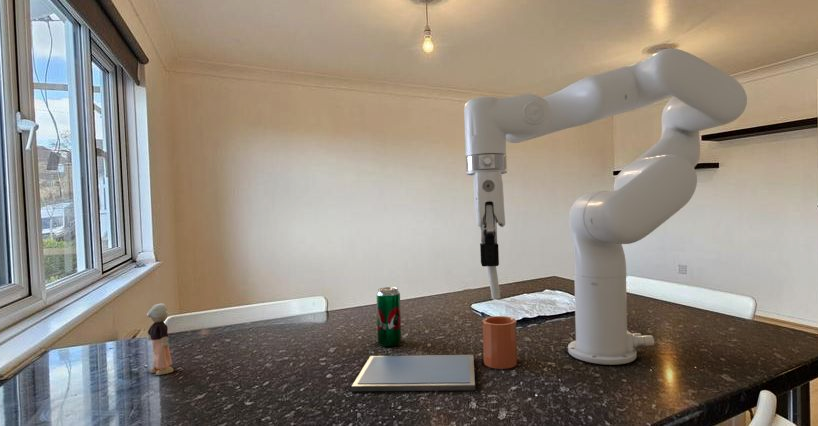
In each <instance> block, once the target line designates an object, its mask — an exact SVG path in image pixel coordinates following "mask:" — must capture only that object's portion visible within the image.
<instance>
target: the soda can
mask: <svg viewBox="0 0 818 426" xmlns="http://www.w3.org/2000/svg"><path fill="white" fill-rule="evenodd" d="M401 321H402V315H401V292H400V290H399V288H398V287H395V286H387V287H380V288H378V291H377V293H376V327H377V343H378V345H379V346H380V347H383V348H384V347H385V348H392V347H397V346H398V345H399V344H401V342H402V322H401Z"/></svg>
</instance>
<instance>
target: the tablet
mask: <svg viewBox="0 0 818 426" xmlns="http://www.w3.org/2000/svg"><path fill="white" fill-rule="evenodd" d="M474 359H475V358H474V354H434V355H432V354H428V355H427V354H426V355H425V354H424V355H423V354H421V355H370V356H369V358H368V359H367V361H366V362H365V364H364V365H363V367H362V369H361V370H360V372H359V374H358V375H357V376H356V378H355V380H354V381H353V383H352V385H351V392H354V393H355V392H439V391H440V392H445V391H447V392H450V391H460V392H461V391H476V378H475V377H476V376H475V361H474Z"/></svg>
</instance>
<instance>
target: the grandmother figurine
mask: <svg viewBox="0 0 818 426" xmlns="http://www.w3.org/2000/svg"><path fill="white" fill-rule="evenodd" d="M167 310H168V307H167V304H165V303H157V304H156V303H155V304H154V305H153V306H151V308H149V310H148V312H147V313H146V315H145V317H146V318H150V319H151V321H152V324H151V325H150V326H149V328H148V330H147V340H148V341H151V343H152V352H153V357H152V367H153V368H151V370H150V371H149V372H150V373H152V374H154V373H155V376H161V375H168V374H170V373H173V372H174V370H175V369H174V368H173V367H172V365H173V360H172V356H171V351H170V346H169V345H170V344H169V328H168V327H169V326H168V325H167V324H166V323H165V321H166V320H167V319H168V316H169V315H168V312H167Z"/></svg>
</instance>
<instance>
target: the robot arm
mask: <svg viewBox="0 0 818 426" xmlns="http://www.w3.org/2000/svg"><path fill="white" fill-rule="evenodd" d="M746 92H747V91H746V90H745V88H744V87H743V85H742V84H741V83H740V82H739V81H738V80H737V79H736V78H734V77H733V76H731V75H730V74H728V73H726V72H725V71H723V70H721V69H719V68H717V67H716V66H715V65H712V64H711V63H710V62H707V61H705V60H704V59H702V58H700V57H698V56H696V55H694V54H692V53H690V52H688V51H685V50H682V49H678V48H674V47H673V48H664V49H661V50H659V51H658V52H656V53H654V54H651V56H648V57H647V58H645V59H643V60H641V61H639V62H636V63H633V64H630V65H626V66H622V67H619V68H615V69H613V70H608V71H605V72H601V73H597V74H593V75H590V76H586V77H584V78H582V79H579V80H577V81H575V82H572V83H571V84H569V85H568V86H566V87H564V88H562V89H560V90H558V91H556V92H553V93H552V94H549V95H547V96H544V97H543V96H540V95H536V94H530V93H529V94H520V95H515V96H514V95H513V96H507V97H496V96H478V97H474V98H471V99H469V100H468V101H466V102H465V104H464V106H463V107H464V108H463V115H464V116H463V118H464V121H463V122H464V142H465V143H464V146H465V147H464V149H465V169H466V170H465V171H466V172H465V174H466V176H472V185H473V202H474V203H473V204H474V213H475V220H476V221H475V222H476V225H477V227H479V228H480V243H479V248H480V264H481V266H482V267H487V266H496V267H498V266H499V265H500V253H499V243H498V226H499V227H500V228H503V227H505V226H506V216H505V198H504V195H505V194H504V182H503V175H505V174H507V173H508V166H507V165H508V163H507V160H508V159H507V143H510V144H519V143H523V142H527V141H530V140H534V139H536V138H541V137H543V136H547V135H551V134H553V133H557V132H559V131H563V130H567V129H571V128H575V127H580V126H584V125H587V124H591V123H594V122H597V121H601V120H604V119H607V118H610V117H613V116H617V115H620V114H624V113H627V112H631V111H634V110H637V109H641V108H644V107H647V106H651V105H653V104H655V103H658V102H660V101H663V100H666V99H669V98H670V99H669V100H668V101H667V102H666V104H665V105H664V107H663V110H662V113H661V134H660V138H659V139H658V141H656V143H654V144H653V145H652V146H651V147H650V148H649V149H647V150H646V151H645V152H643V153H642V154H641V155H640V156H638V157H637V158H635V159H634V160H632V161H631V162H630V163H628V164H627V165H626V166H625V167H623V168H622V169H621V170H620V172H619V173H618V174H617V175H616V177H615V179H614V182H613V190H599V191H591V192H588V193H585V194H583V195H581V196H580V197H578V198H577V199H576V200H575V201H574V202H573V204H572V206H571V208H570V210H569V215H568V226H569V232H570V236H571V241H572V247H573V248H572V250H573V266H574V268H573V269H574V270H573V272H574V275H573V277H574V316H575V318H574V319H575V321H574V322H575V340H572V341H571V342H569V343H568V345H567V352H568V354H569V355H570V356H571V357H573V358H575V359H576V360H578V361H582V362H585V363H590V364H595V365H596V364H597V365H605V366H607V365H609V366H612V365H614V366H618V365H624V364H625V365H626V364H629V363H632V362H634V361H635V360H636V359H637V357H638V355H637V354H638V353H637V352H638V351H637V349H636V348H638V346H643V347H653V346H654V345H655V338H654V336H653V335H649V334H648V335H642V334H641V333H640V332H634V333H632V332H631V331H629V329H628V305H627V304H628V301H627V300H628V299H627V298H628V297H627V262H626V255H625V250H624V247H623V245H629V244H634V243H637V242H638V241H641V240H642V239H644V238H646V237H647V236H649V235H650V234H652V233H653V232H654V231H655V230H657V229H658V228H659V227H660V226H662V225H663V224H664V223H665V222H667V221H668V220H669V219H671V218H672V217H673V216H674V215H675V214H677V213H678V212H679V211H680V210H682V209H683V208H684V207H685V206H686V205H687V204H688V203H689V202H690V201H691V199H692V198H693V196H694V194H695V192H696V188H697V184H698V175H697V171H696V169H695V168H696V166H697V165H698V163H699V162H700V157H701V145H700V144H701V140H700V132H701V131H705V130H709V129H713V128H718V127H721V126H725V125H728V124H730V123H731V124H732V123H733V122H735V121H736V120H737V119H739V118H740V117H741V116H742V115H743V113H744V112H745V110H746V107H747V105H748V95H747V93H746Z"/></svg>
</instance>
